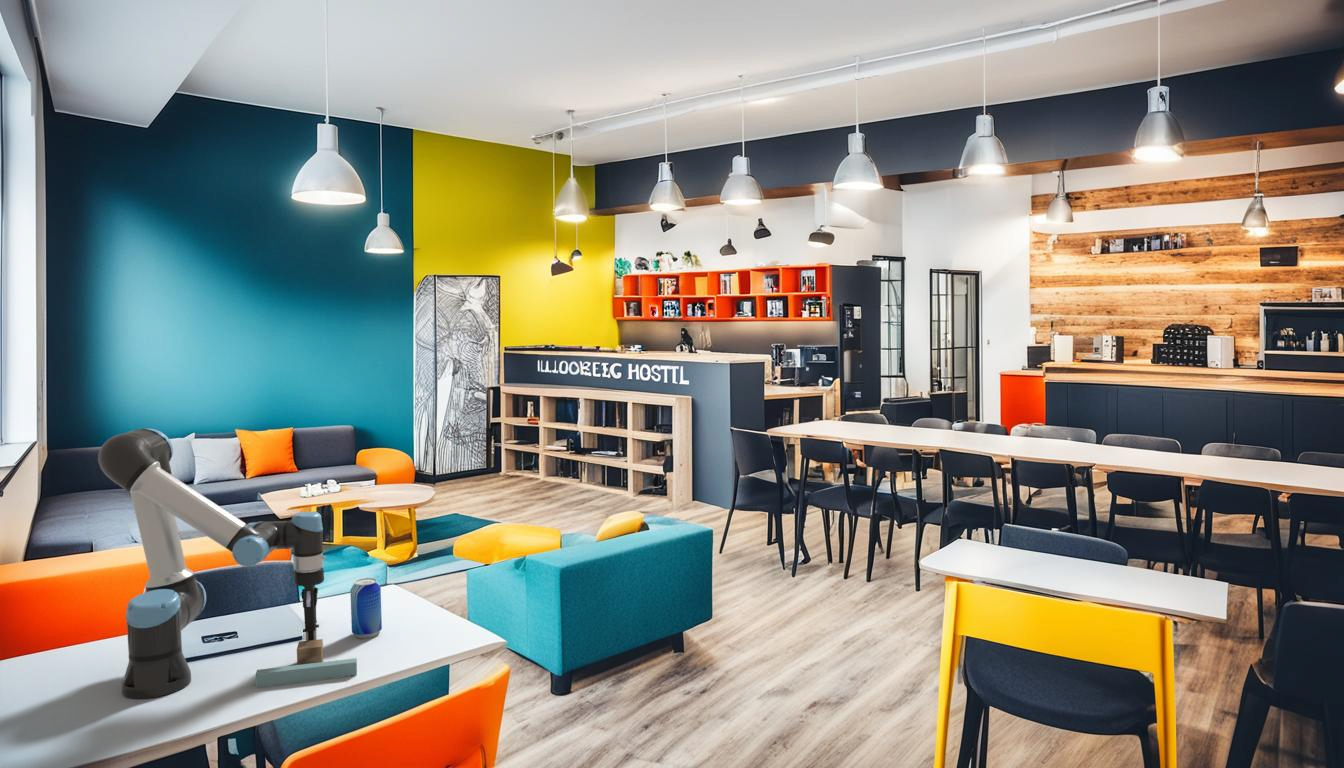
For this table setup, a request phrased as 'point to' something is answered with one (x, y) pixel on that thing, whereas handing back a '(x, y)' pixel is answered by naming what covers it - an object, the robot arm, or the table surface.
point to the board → (305, 672)
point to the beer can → (366, 608)
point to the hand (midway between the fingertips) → (311, 652)
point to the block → (310, 652)
